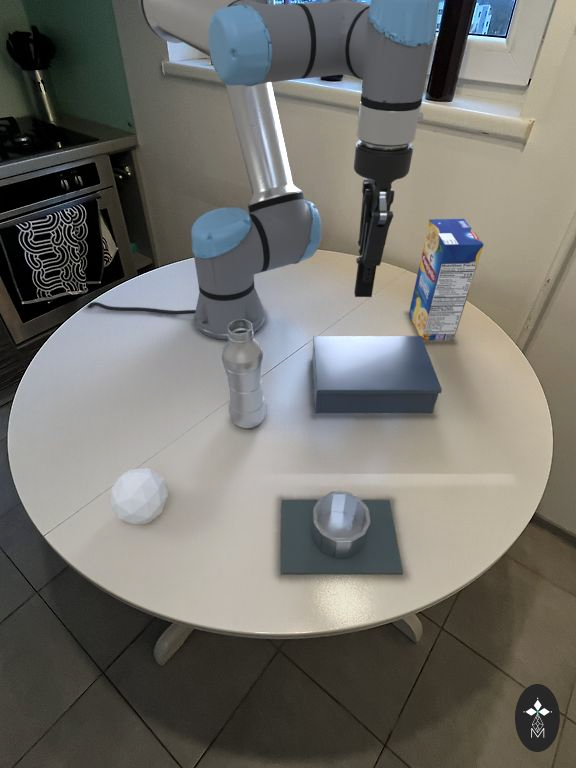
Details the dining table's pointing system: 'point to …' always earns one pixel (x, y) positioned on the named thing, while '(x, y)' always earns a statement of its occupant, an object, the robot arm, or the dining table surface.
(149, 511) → the geometric ball
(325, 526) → the grey hollow cylinder
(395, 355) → the chest lid
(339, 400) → the box
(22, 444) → the dining table surface
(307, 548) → the mat
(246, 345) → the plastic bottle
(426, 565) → the dining table surface
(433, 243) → the blue cereal box
